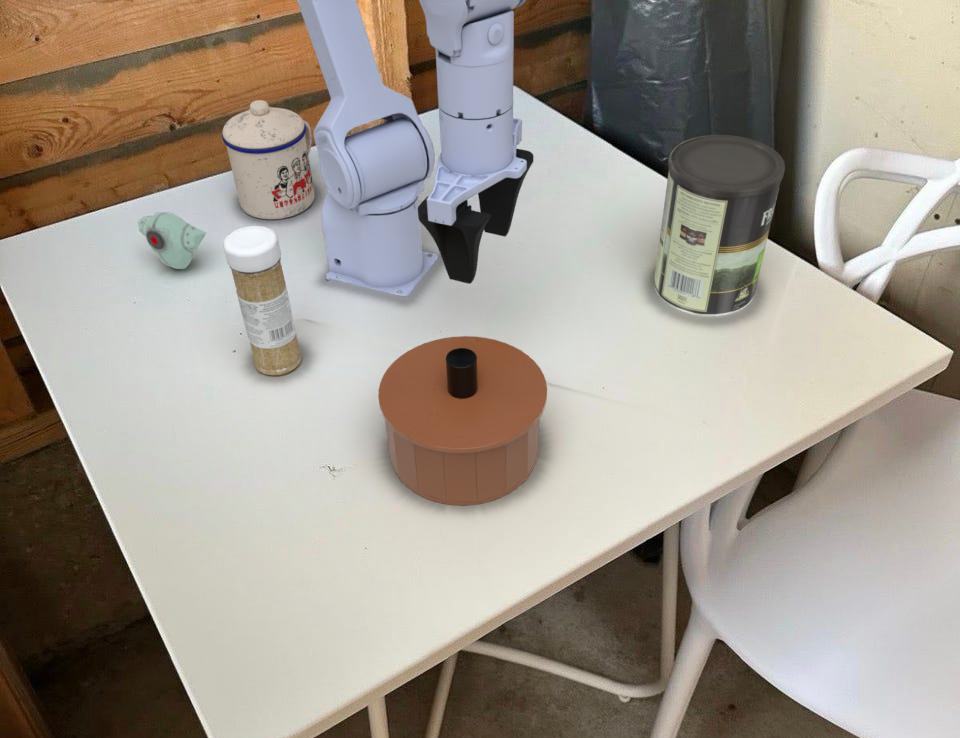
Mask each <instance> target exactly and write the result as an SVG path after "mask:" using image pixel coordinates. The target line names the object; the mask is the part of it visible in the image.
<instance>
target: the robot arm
mask: <svg viewBox="0 0 960 738" xmlns="http://www.w3.org/2000/svg"><path fill="white" fill-rule="evenodd" d="M296 1H297V5H298V7H299V10H300V13H301V17H302V20H303V22H304V24H305V28H306V31H307V33H308V37H309V39H310V42H311V45H312V48H313V51H314V54H315V56H316V59H317V62H318V65H319V69H320V72H321V74H322V76H323V77H322V78H323V80H324V82H325V83H324V84H325V86H326V88H327V91H328V95H329V97H330V101H329V103H328V105H327V106H326V108H325V110H324V112H323V114H322V115H321V117H320V118H319V120H318V122H317V123H316V125H315V128H314V130H313V131H312V132H313V133H312V135H313V141H314V143H315V146H316V151H317V154H318V163H319V170H320V173H321V177H322V178H321V179H322V180H323V183H324V185H325V188H326V189H327V191H328V192H327V194H326V196H325V197H324V201H323V205H322V209H321V228H322V235H323V241H324V247H325V253H326V260H327V264H328V266H327V267H328V270H329V271H328V272H327V273H326V274H325V279H326V280H327V281H330V280H336V281H339V282H343V283H346V284H351V285H355V286H359V287H363V288H367V289H371V290H375V291H380V292H383V293H386V294H387V293H388V294H392V295H395V296H399V297H407V296H409V295H410V293H411V292H412V291H413V290H414V288H415V287H416V286H417V284H418V283H419V282H420V281H421V280H422V278H423V277H424V276H425V275H426V273H427V272H428V271H429V270H430V269H431V267H432V266H433V265H434V264H435V262H436V261H437V260H438V258H439V254H440V257H441V259H442V262H443V266H444V268H445V271H446V274H447V276H448V278H449V280H452V281H456V282H460V283H464V284H472V283H473V282H474V280H475V277H476V274H477V271H478V262H479V261H478V260H479V250H480V245H481V240H482V237H483V233H484V232H485V233H486V234H492V235H496V236H501V237H505V238H506V237H507V236H508V234H509V232H510V229H511V225H512V223H513V219H514V214H515V211H516V207H517V201H518V198H519V193H520V191H521V188H522V186H523V183H524V181H525V179H526V176H527V174H528V172H529V170H530V169H531V167H532V165H533V164H534V153H533V152H531V151H530V150H526V149H521V148H517V147H518V145H519V144H520V143H521V142H522V141H523V120H522V119H521V118H516V117H514V50H515V49H514V46H515V39H514V37H515V36H514V29H515V23H514V22H515V12H514V11H513V10H514V9H515V8H519V7H521V6H522V5H523V4H524V3H525V2H526V0H418V1H419V4H420V6H421V8H422V11H423V14H424V17H425V18H424V19H425V24H426V26H425V27H426V37H428V40H429V41H428V42H429V44H430V46H431V47H433V48H435V49H434V51H435V65H436V67H435V68H436V81H437V82H436V83H437V102H438V103H437V105H438V119H439V120H438V121H439V139H440V153H439V156H438V160H437V166H436V171H435V177H434V181H433V182H434V183H433V188H432V191H431V192H430V194H429V196H425V198H424V199H423V200H422V201H421V203H420V202H419V201H420V200H419V195H420V194H422V193H424V192H425V182H424V181H426V180H428V179H429V178H431V177H432V176H433V175H432V174H433V173H434V169H435V163H436V153H435V148H434V144H433V141H432V138H431V136H430V134H429V132H428V130H427V128H426V127H425V126H424V124H423V122H422V120H421V119H420V117H419V114H418V112H417V109H416V106H415V104H414V101H413V99H412V98H410V97H408V96H406V95H404V94H402V93H400V92H398V91H396V90H394V89H392V88H390V87H388V86H386V85H385V84H384V83H383V82H384V81H383V79H382V77H381V72H380V69H379V67H378V64H377V61H376V57H375V54H374V51H373V48H372V45H371V43H370V39H369V36H368V33H367V29H366V27H365V23H364V21H363V17H362V14H361V11H360V8H359V5H358V1H357V0H296ZM377 120H382V121H383V120H384V121H386V122H383V123H380V124H378V125H374V126H372V127H369V128H366V129H363V130H361V131H358V132H354V133H352V134H349V135H348V133H349V132H350V131H352V130H354V129H355V128H357V127H361V126H363V125H364V126H365V125H366V124H369V123H372V122H375V121H377ZM476 195H477V196H478V201H479V202H478V204H479V211H477V210H472V205H471V204H468V203H469V201H468V200H469V199H471V198H472V197H474V196H476ZM421 225H423V227H424V228H425V229H426V231H427V232H428V233H429V235H430V236H431V237H432V239H433V242H434V243H435V245H436V247H437V249H438V252H439V254H437V253H433V252H428V251H424V250H423V243H422V242H423V241H422V240H423V239H422V229H421V227H422V226H421ZM429 255H431V256H429Z"/></svg>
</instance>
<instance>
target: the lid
mask: <svg viewBox="0 0 960 738" xmlns="http://www.w3.org/2000/svg"><path fill="white" fill-rule="evenodd" d="M377 397H378V405H379V409H380V413H381V415H382V417H383V419H384V421H385V420H386V422H387V423H388V424H389V426H390V427H391V428H392V429H393V430H394V431H395V432H396V433H397V434H399V435H400V436H401V437H403V438H404V439H406V440H408V441H410V442H412V443H414V444H416V445H418V446H421V447H424V448H427V449H431V450H435V451H440V452H447V453H473V452H480V451H486V450H490V449H494V448H497V447H500V446H503V445H505V444H507V443H509V442H512V441H514V440H515V439H517V438H519V437H520V436H522V435H523V434H525V433H526V432H527V431H528V430H530V429H531V428H532V427H533V425H534V424H535V423H536V422H537V421H538V419H539V420H540V418H541V417H542V415H543V413H544V410H545V408H546V405H547V400H548V384H547V380H546V377H545V374H544V372H543V371H542V369H541V367H540V366H539V365H538V364H537V363H536V361H535V360H534V359H533V358H532V357H531V356H530V355H528V353H525V352H524V351H522V350H521V349H519V348H518V347H515V346H514V345H511V344H510V343H509V344H508V343H507V342H503V341H500V340H497V339H493V338H489V337H484V336H483V337H482V336H468V335H466V336H465V335H462V336H450V337H443V338H437V339H434V340H430V341H428V342H425V343H422V344H419V345H417V346H415V347H413V348H411V349H410V350H407V351H406V352H404V353H403V354H401V355H400V356H399V357H398V358H396V359H395V360H394V361H393V362H392V363H391V364H390V365H389V367H388V368H387V369H386V370H385V372H384V373H383V376H382V378H381V380H380V382H379V387H378V394H377Z"/></svg>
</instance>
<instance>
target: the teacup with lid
mask: <svg viewBox="0 0 960 738" xmlns="http://www.w3.org/2000/svg"><path fill="white" fill-rule="evenodd" d="M312 135H313V133H312V128H311V126H310V124H309V123H308V122H307V121H306V120H304V119H303V118H302V117H301V116H300V115H299V114H298V113H296V112H295V111H292V110H290V109H287V108H282V107H272V106H269V103H268V101H266V100H265V99H264V100H263V99H262V100H261V99H257V100H254V101H252V102H251V103H250V105H249V109H248V110H245V111H242V112H240V113H237V114H236V115H233V116H232V117H231V118H230V119H228V120H227V121H226V123H225V124H224V126H223V128H222V132H221V139H222V142H223V143H224V144H225V146H226V150H227V155H228V160H229V164H230V167H231V172H232V176H233V180H234V185H235V190H236V194H237V197H238V202H239V206H240V208H241V209H242V210H243V212H245V214H247V215H249V216H250V217H254V218H256V219H261V220H282V219H287V218H290V217H294V216H296V215H299V214H301V213H302V212H304V211H306V210H307V209H309V207H310V206H312V204H313V202H314V201H315V195H316V194H315V193H316V192H315V187H314V182H313V175H312V169H311V163H310V157H309V156H310V153H311V150H312V143H313V140H312V139H313V136H312Z"/></svg>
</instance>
